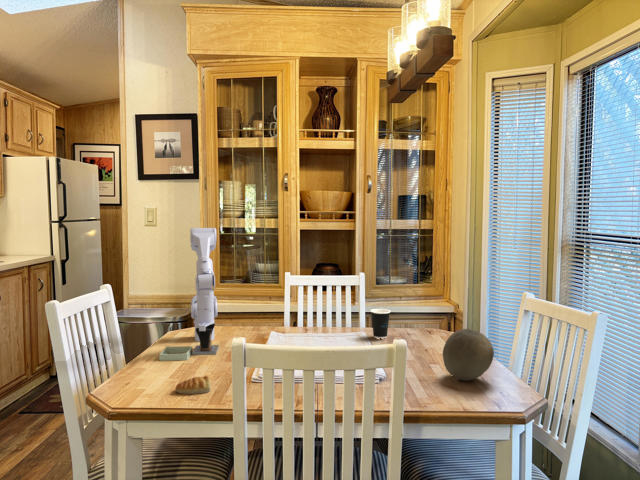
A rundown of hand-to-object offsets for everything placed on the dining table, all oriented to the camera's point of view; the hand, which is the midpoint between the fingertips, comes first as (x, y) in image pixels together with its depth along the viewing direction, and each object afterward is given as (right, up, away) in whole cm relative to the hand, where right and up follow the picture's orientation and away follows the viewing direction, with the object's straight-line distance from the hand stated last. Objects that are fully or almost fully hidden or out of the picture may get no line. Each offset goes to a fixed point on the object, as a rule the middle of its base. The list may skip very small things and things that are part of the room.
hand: (205, 346), depth 163 cm
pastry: (+5, -5, -33) cm, 34 cm away
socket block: (0, -3, 0) cm, 3 cm away
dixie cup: (+64, -2, +23) cm, 68 cm away
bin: (-9, -3, -6) cm, 11 cm away
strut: (0, -2, 0) cm, 2 cm away
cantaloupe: (+84, -5, -24) cm, 88 cm away
